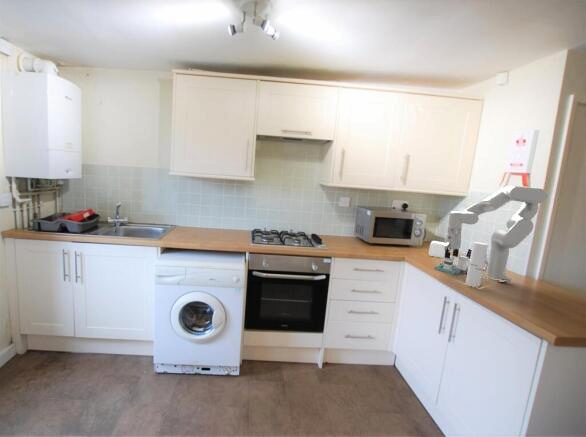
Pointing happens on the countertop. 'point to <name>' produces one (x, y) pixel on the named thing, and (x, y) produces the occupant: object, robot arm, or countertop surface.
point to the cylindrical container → (476, 263)
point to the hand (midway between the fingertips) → (451, 257)
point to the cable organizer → (437, 249)
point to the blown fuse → (448, 263)
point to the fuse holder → (458, 269)
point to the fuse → (462, 262)
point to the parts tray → (453, 272)
